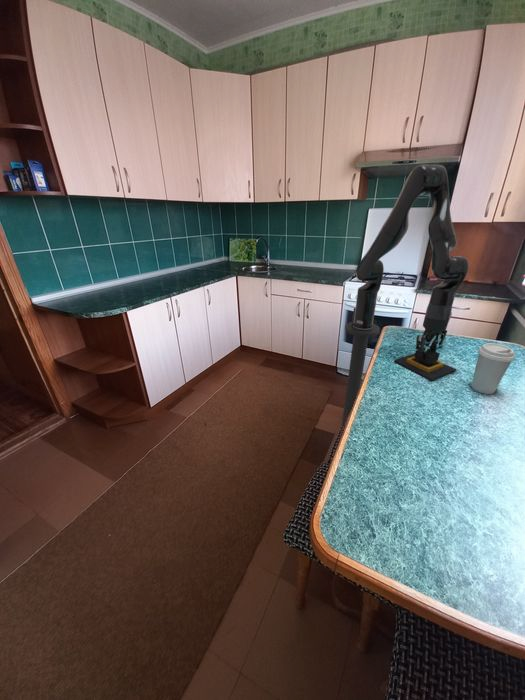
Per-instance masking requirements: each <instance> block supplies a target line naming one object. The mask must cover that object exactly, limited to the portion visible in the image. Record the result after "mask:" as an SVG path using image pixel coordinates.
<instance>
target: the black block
mask: <svg viewBox="0 0 525 700" xmlns="http://www.w3.org/2000/svg"><path fill="white" fill-rule="evenodd" d="M424 348H425V346H424ZM414 353H415V355H414V357H415V358H417V359H418V355H419V350H417V349H415V352H414ZM440 354H441V353H440V352H439V351H438V352H437V351H436V352H435V351H433V350H431V349H430V348H428V349H427V351H426V355H425V358H424V360H423V362H425V363H427V364H429V363H432V362H435V361H437V360H438V361H439V357H440ZM421 361H422V360H421Z"/></svg>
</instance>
